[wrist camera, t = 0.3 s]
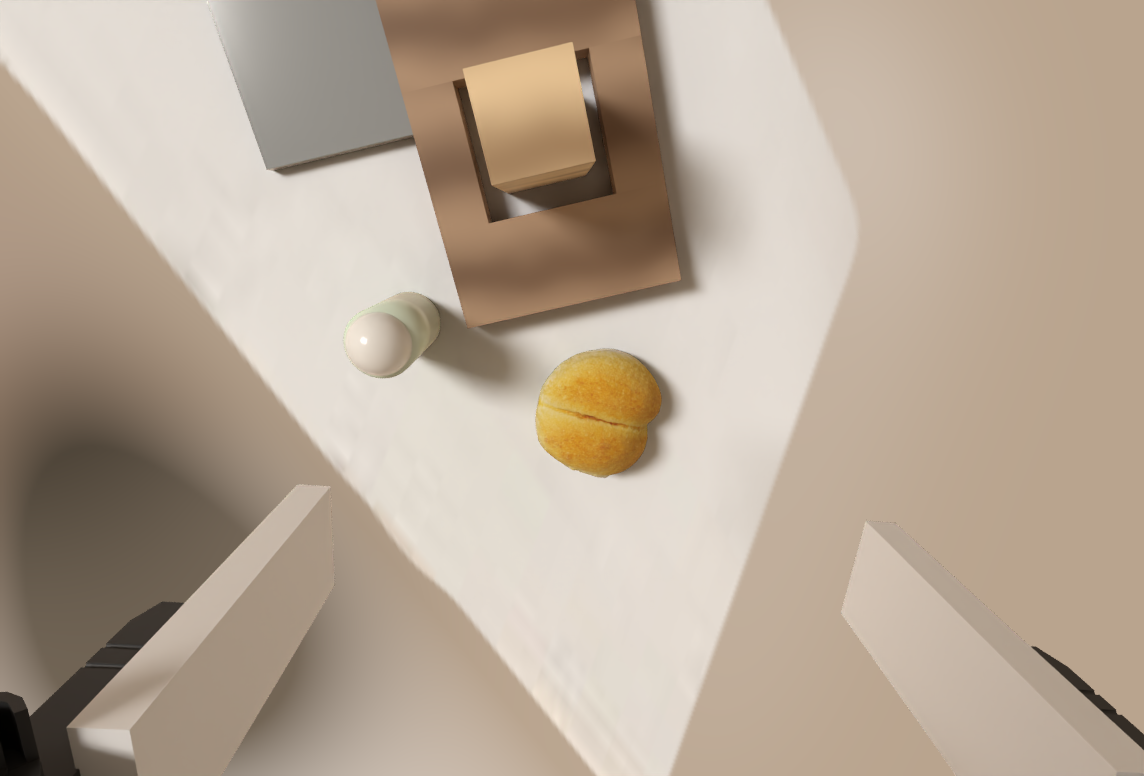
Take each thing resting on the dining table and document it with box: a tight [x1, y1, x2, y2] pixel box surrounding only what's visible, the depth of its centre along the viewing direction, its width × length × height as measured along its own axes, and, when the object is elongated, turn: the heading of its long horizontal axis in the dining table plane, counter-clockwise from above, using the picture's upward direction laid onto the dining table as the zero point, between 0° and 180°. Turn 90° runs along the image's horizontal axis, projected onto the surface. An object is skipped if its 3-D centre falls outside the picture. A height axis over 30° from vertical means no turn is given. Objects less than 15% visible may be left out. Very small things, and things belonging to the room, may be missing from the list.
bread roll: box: [535, 349, 661, 478], centre depth 39 cm, size 8×9×4 cm
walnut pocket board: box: [376, 0, 681, 328], centre depth 34 cm, size 20×14×2 cm
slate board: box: [207, 0, 414, 171], centre depth 33 cm, size 10×10×1 cm
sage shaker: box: [344, 292, 441, 378], centre depth 34 cm, size 4×4×9 cm
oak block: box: [463, 42, 596, 194], centre depth 30 cm, size 5×5×10 cm
